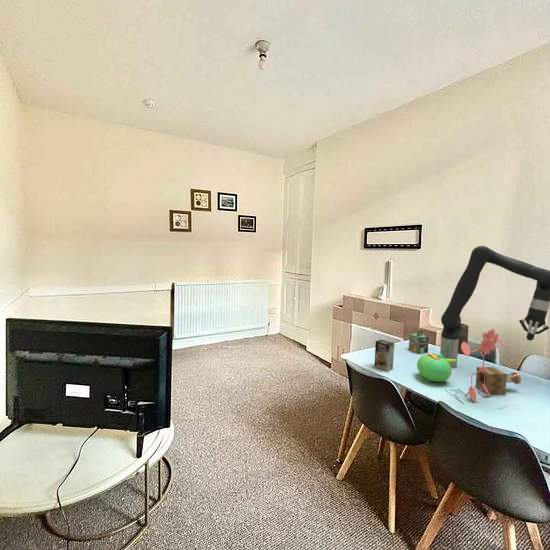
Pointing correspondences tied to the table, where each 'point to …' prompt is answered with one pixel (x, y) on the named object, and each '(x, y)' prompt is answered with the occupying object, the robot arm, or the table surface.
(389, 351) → the coffee box
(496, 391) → the bushing block
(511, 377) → the plunger peg
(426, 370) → the green rounded lump
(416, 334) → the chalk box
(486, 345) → the pink flower sprig
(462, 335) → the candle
